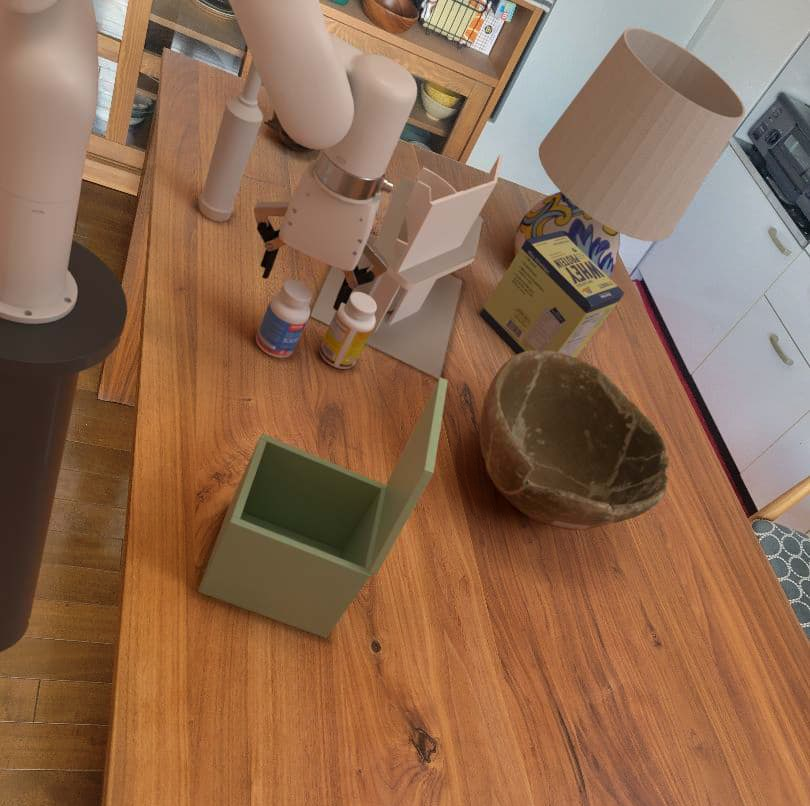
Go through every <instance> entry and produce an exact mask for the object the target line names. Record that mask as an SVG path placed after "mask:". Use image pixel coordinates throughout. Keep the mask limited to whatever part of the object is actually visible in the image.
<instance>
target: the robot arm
mask: <svg viewBox="0 0 810 806" xmlns="http://www.w3.org/2000/svg"><path fill="white" fill-rule="evenodd" d="M227 1H228V3H229V5H230V7H231V9H232V12H233V15H234V17H235V19H236V21H237V23H238V26H239V28H240V31H241V33H242V36H243V39H244V41H245V44H246V47H247V49H248V52H249V54H250V56H251V60H252V59H253V62H254V64H255V67H256V69H257V71H258V74H259V76H260V78H261V81H262V82H261V84H262V85H263V87H264V90H265V92H266V94H267V96H268V99H269V102H270V103H271V105H272V108H273V110H275V113H276V115H277V117H278V119H279V121H280V123H281V125H282V127H283V129H284V130H285V132H286V133H287V134H288V135H289V136H290V137H291V138H292V139H293V140H294V141H295V142H297V143H298V144H300V145H302V146H304V147H307V148H310V149H316V150H320V151H319V153H318V155H317V158H315V159H311V160H310V161H309V162H308V164H307V165H306V166H305V169H304V171H303V172H302V174H301V175H300V176H299V177H300V178H299V180H298V182H297V184H296V186H295V189H294V191H293V193H292V196H291V198H290V200H289V201H258V202H257V203H256V204H255V206H254V208H253V214H254V217H255V222H256V225H257V227H256V230H257V232H258V234H259V235H260V237H261V239H262V241H263V243H264V249H265V251H264V254H263V256H262V259H261V262H260V265H259V266H260V267H261V268H263V269H264V270H263V273H262V276H261V278H262V279H265V280H267V279H269V277H270V275H271V272H272V271H273V268H274V265H275V261H276V259H277V256H278V253H279V250H280V248H282V247H284V246H288V247H290V248H292V249H294V250H296V251H298V252H300V253H302V254H304V255H307V256H309V257H311V258H313V259H315V260H318V261H319V262H322V263H324V264H326V265H329V266H331V267H332V266H333V267H335V268H338V269H340V270H343V272H344V275H345V278H344V281H343V283H342V285H341V288H340V290H339V292H338V294H337V297H336V300H335V303H334V306H333V308H334V310H337V311H338V309H339V307H340V305H341V303H344V304H347V302H348V300H349V297H350V295H351V293H352V291H353V289H355V288H357V286H358V285H362V284H365V283H369V282H372V281H373V280H374V278H376V277H378V276H380V275H381V274H383V273H384V272H386V271H387V268H388V261H387V260H386V259H385V258H384V256H383V255H382V254H381V253H380V252H379V251H378V249H377V248H376V247H375V246H374V245H373V244H372V242H371V241H370V240H369V239H368V237H369V235H370V233H372V229H373V227H374V224H375V220H376V217H377V214H378V212H379V207H380V202H381V197H382V193H386V194H389V195H390V194H391V192H392V189H393V187H394V182H392V181H391V180H389V178H387V174H386V173H385V172H386V171H387V168H388V165H389V163H390V161H391V158H392V156H393V154H394V152H395V150H396V147H397V144H398V142H399V140H400V138H401V136H402V133H403V131H404V129H405V127H406V124H407V122H408V119H409V117H410V115H411V113H412V110H413V108H414V105H415V103H416V100H417V98H418V86H417V82H416V79H415V78H414V77H413V75H412V73H411V72H410V71H409V70H408V69H407V68H406V67H405V66H403V65H402V64H401V63H399V62H397V61H396V60H395V59H392V58H390V57H387V56H385V55H382V54H379V53H372V52H365V51H364V50H362V49H360V48H358V47H356V46H354V45H353V44H350V43H349V42H347V41H345V40H343V39H342V38H340V37H338V36H337V35H335V34H333V33H332V32H330V31H329V29H328V25H327V21H326V19H325V16H324V13H323V11H322V10H323V9H322V7H321V3H320V0H227ZM98 34H99V32H98V24H97V17H96V12H95V5H94V0H0V318H3V319H6V320H10V321H13V322H19V323H25V324H41V323H48V322H52V321H56V320H58V319H61V318H63V317H64V316H66V315H67V314H68V313H70V312H71V310H72V309H73V308H74V306H75V303H76V300H77V294H78V291H77V285H76V282H75V279H74V278H73V276H72V275H71V273H70V272H69V271H68V270H67V269H68V263H69V257H70V251H71V245H72V240H74V233H75V226H76V220H77V214H78V208H79V202H80V195H81V190H82V182H83V176H84V170H85V164H86V161H87V160H86V159H87V153H88V148H89V145H90V144H89V143H90V140H91V136H92V132H93V129H94V125H95V119H96V114H97V108H98V100H99V35H98ZM269 217H283V219H282V222H281V224H280V227H278V228H275V229H274V227H273V225H272V223H271V221H270V220H269ZM362 253H363V254H364V255H365V256H366V257H367V258H368V259H369V261H370V262H371V263H372V264H373V265H372V266H371V267H366V268H363V269H360V268H359V265H358V261H359V259H360V257H361V255H362Z"/></svg>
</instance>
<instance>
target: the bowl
mask: <svg viewBox="0 0 810 806" xmlns="http://www.w3.org/2000/svg"><path fill="white" fill-rule="evenodd" d="M479 442H480V450H481V453H482V457H483V459H484V462H485V466H486V473H487V474H488V477H489V478H490V480H491V481H492V483H493V485H494V486H495V487H496V489H497V490H498V491H499V493H500V494H501V495H502V496H503V497H504V499H505V500H506V501H507V502H508V503H509V504H510V505H512V506H513V507H514V508H515V509H517V511H519V512H520V513H522V514H523V515H525V516H527V517H528V518H530V519H532V520H533V521H536V522H538V523H540V524H542V525H546V526H549V527H552V528H557V529H562V530H571V531H584V530H585V531H587V530H593V529H598V528H601V527H604V526H607V525H610V524H617V523H620V522H623V521H627V520H630V519H634V518H636V517H639V516H642V515H643V514H645V513H646V512H648V511H649V510H651V509H652V508H654V507H655V506H656V505H657V504H658V503H660V502H661V500H662V499H663V497H664V496H665V494H666V492H667V487H668V480H669V476H667V473H668V470H669V467H670V461H669V456H668V455H667V454H666V449H667V448H666V445H665V443H664V440H663V437H661V435H660V434H659V431H658V430H657V429H656V428H655V426H654V425H653V423H652V421H650V419H649V418H648V417H647V416H646V415H644V413H643V412H641V410H640V409H639V407H638V406H637V405H636V404H635V403H634V402H632V400H629V398H628V397H627V396H626V394H625V393H624V392H623V391H622V390H621V389H620V387H618V386H617V385H616V384H615V383H614V382H613V381H612V380H611V379H610V378H609V377H608V376H607V375H606V374H605V373H604V372H603V371H601V369H599V368H598V367H596V366H594V365H592V364H590V363H589V362H586V361H584V360H582V359H580V358H577V357H576V358H574V357H571V356H568V355H565V354H562V353H559V352H555V351H541V352H539V351H538V350H534V351H526V352H522V353H519V354H517V353H516V354H515V355H513V356H512V357H510V358H509V359H508V360H507V361H505V363H504V364H502V366H501V367H500V368H499V369H498V371H497V373H496V374H495V375H494V377H493V378H492V380H491V383H490V384H489V387H488V389H487V392H486V395H485V399H484V402H483V405H482V409H481V414H480V424H479Z"/></svg>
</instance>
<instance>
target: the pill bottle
mask: <svg viewBox="0 0 810 806" xmlns="http://www.w3.org/2000/svg"><path fill="white" fill-rule="evenodd" d="M312 299H313V291H312V289H311V288H310V287H309V286H308V284H306V283H304V282H303V281H301V280H298V279H290V278H289V279H287V280H285V281H284V282H283V284H282V286H281V288H280V290H279V291H277V292H275V293H274V294H273V295H272V296H271V298H270V300H269V303H268V305H267V308H266V310H265V313H264V315H263V317H262V319H261V321H260V322H261V323H260V325H259V327H258V329H257V333H256V335H255V341H256V344H257V346H258V347H259V349H261V351H263V352H264V354H266V355H269V356H271V357H274V358H277V359H284V358H287V357H290V356H291V355H293V353H294V351H295V349H296V347H297V344H298V342H299V341H300V338H301V336H302V333H303V331H304V329H305V327H306V325H307V322H308V320H309V318H310V315H311V307H310V306H309V305H310V304H311V301H312Z"/></svg>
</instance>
